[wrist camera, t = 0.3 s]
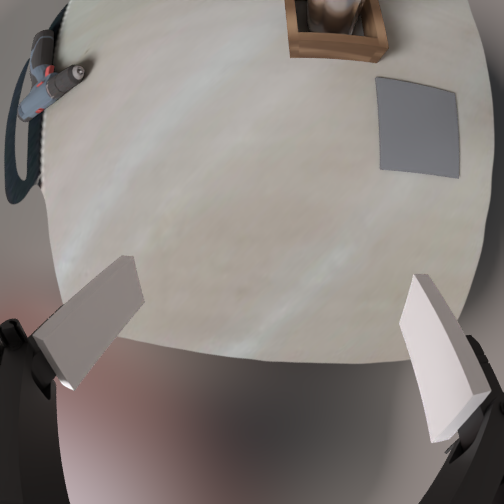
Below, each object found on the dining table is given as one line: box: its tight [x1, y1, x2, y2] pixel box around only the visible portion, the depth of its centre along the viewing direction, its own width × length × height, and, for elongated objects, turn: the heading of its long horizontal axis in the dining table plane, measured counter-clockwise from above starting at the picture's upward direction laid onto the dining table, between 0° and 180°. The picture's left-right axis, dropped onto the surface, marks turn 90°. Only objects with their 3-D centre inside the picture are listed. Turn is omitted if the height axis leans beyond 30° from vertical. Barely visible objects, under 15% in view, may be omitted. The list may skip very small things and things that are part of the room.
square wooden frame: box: [285, 0, 389, 63], centre depth 24 cm, size 12×12×6 cm
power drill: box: [17, 30, 84, 122], centre depth 31 cm, size 5×19×20 cm
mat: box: [375, 77, 459, 179], centre depth 29 cm, size 13×13×1 cm
